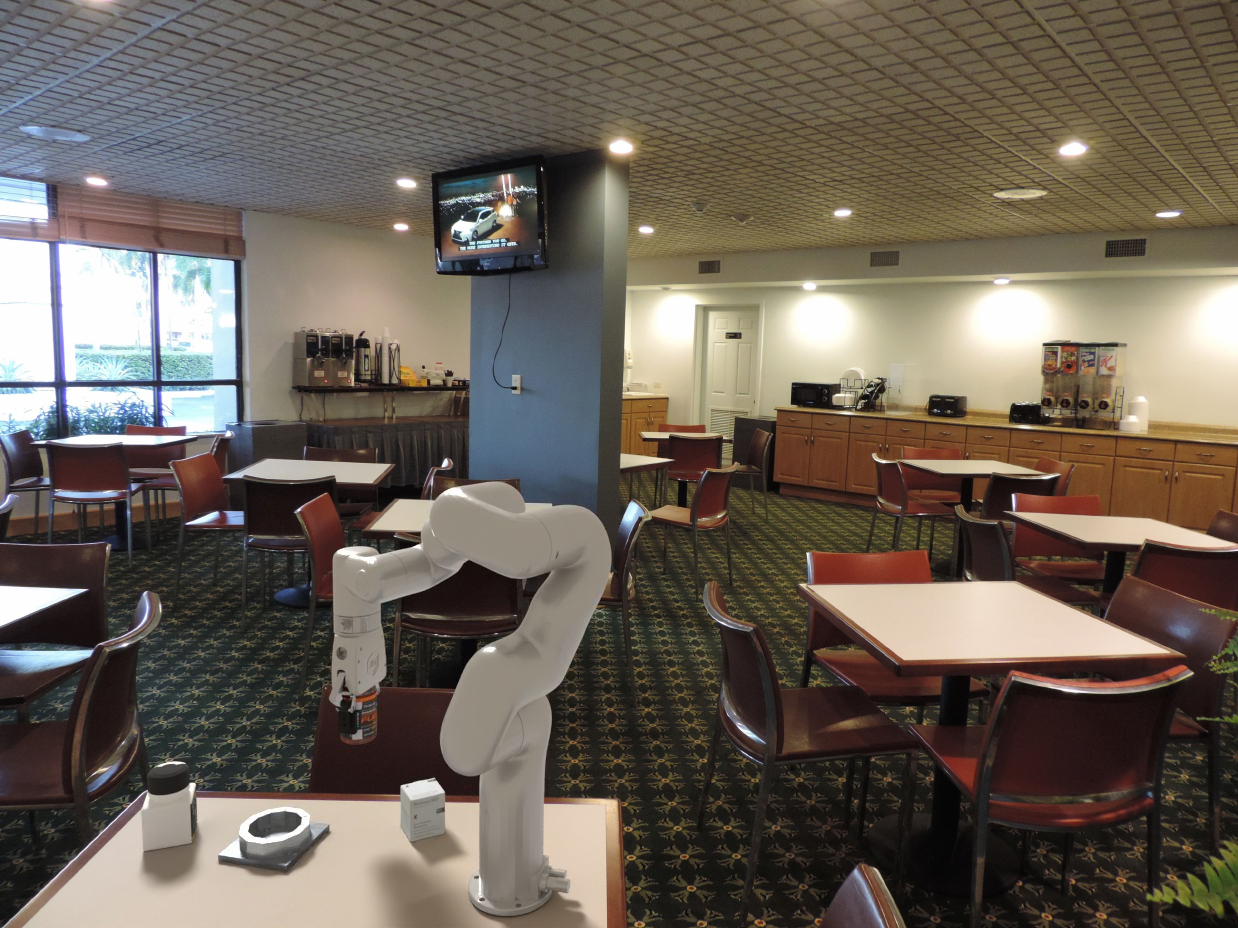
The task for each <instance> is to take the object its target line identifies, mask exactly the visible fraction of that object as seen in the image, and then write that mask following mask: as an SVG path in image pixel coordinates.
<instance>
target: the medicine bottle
mask: <svg viewBox="0 0 1238 928" xmlns="http://www.w3.org/2000/svg"><path fill="white" fill-rule="evenodd" d="M190 775H191V774H190V766H189V765H188V764H187V763H185V762H182V761H168V762H165V763H161V764H158V765H156V766H155V767H152V768H151V769H150V770H149V772H148V773H147V774H146V779H147V781H146V782H147V793H146V796H145V799H144V802H143V805H142V808H141V810H140V812H141V813H140V814H141V817H140V818H141V836H142V850H143V852H149V851H155V850H160V849H167V848H172V847H178V846H184V845H185V846H186V845H189V844H192V843H193V842H194V838H195V833H196V829H197V824H198V802H197V801H198V800H197V799H198V798H197V784H196V783H195V782H191V781H190V779H191V778H190Z"/></svg>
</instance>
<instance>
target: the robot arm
mask: <svg viewBox="0 0 1238 928" xmlns="http://www.w3.org/2000/svg"><path fill="white" fill-rule="evenodd" d="M605 528H606V527H605V526H604V524H603V522H602V521H601V520H600V518H599V517H598V516H597V515H596V514H595V513H593V512H592V511H591V510H590V509H588V508H587V507H584V506H581V505H580V506H579V505H576V504H574V505H573V504H562V505H561V504H560V505H554V506H553V505H552V506H549V507H544V508H539V509H535V510H530V511H526V503H525V499H524V497H523V495H522V494H521V492H520V491H519V490H518V489H516V488H515V487H514V486H512V485H510V484H508V483H506V482H501V481H487V482H486V481H485V482H480V483H473V484H467V485H466V484H465V485H460V486H454V487H451V488H449V489H446V490H445V491H443V492H442V493H441V494H439V495H438V496H437V497H436V498H435V500H434V502H433V503H432V505H431V508H430V511H429V518H428V519H427V520H426V521H425V522H424V523H423V526H422V528H421V532H420V541H421V543H419V544H416V545H415V546H412V547H407V548H402V549H399V550H398V549H397V550H394V551H390V552H389V551H388V552H385V553H379V551H378V550H377V549H376V548H374V547H370V546H362V545H361V546H360V545H359V546H357V545H356V546H347V547H343V548H340V549H338V550H337V551H336V552H334V554H333V557H332V595H333V596H332V597H333V598H332V599H333V600H332V601H333V604H332V605H333V611H332V612H333V633H334V639H333V646H332V653H331V654H332V656H331V688H332V689H331V691H330V694H329V696H328V700H329V701H330V703H332V705H333V706H334V707H335V711H337V722H338V724H337V725H338V727H337V728H338V733H340V734H341V733H345V734H352V735H355V734H356V733H357V710H354V709H355V704H356V699H357V696H359V695H361V694H363V693H364V692H366V691H367V690H369V689H370V688H372V687H373V686H374V685H375V686H376V688H377V718H378V717H379V694H380V692H381V687H380V684H381V682H382V680H384V679H385V677H386V675H387V655H386V643H385V641H386V640H385V635H384V630H383V626H382V621H381V620H382V615H381V614H382V613H381V611H382V609H381V606H382V605H381V604H383V603H386V602H390V601H393V600H396V599H399V598H403V597H406V596H410V595H413V594H417V593H421V592H423V591H426V590H429V589H431V588H432V587H435V586H436V585H438V584H440V583H441V582H443V581H445V580H447V579H449V578H450V577H452V576H453V575H455V574H456V573H458V572H459V570H460V569H461V568H462V567H463V565H464V563H466V562H467V561H470V562H471V561H472V562H473V563H475V564H478V565H480V566H482V567H484V568H487V569H488V570H490V571H492V572H495V573H496V574H499V575H502V576H504V577H507V578H510V579H519V580H521V579H524V580H525V579H529V578H533V577H537V576H540V575H544V574H546V573H549V572H550V573H549V575H548V577H547V578H546V579H545V580H544V582H543V583H542V584H541V585H540V587H539V588H538V589H537V591H536V593H535V594H534V595H533V597H532V598H531V599H532V600H531V602H530V605H529V606H528V608H527V609H528V610H527V612H526V614H525V616H524V618H523V620H522V622H521V623H520V625H519V626H518V628H517V629H516V630H514V632H513V633H512V632H511V633H510V634H508V635H506V636H505V637H502V638H501V639H498V640H495V641H492V642H490V643H488V644H486V645H485V646H483V647H481V648H480V649H478V650H477V651H476V652H475V653H474V654H473V655H472V657H471V658H470V659H469V660H468V662H467V663H466V665H465V666H464V669H463V671H462V673H461V675H460V678H459V681H458V683H457V685H456V688H455V690H454V692H453V696H452V698H451V700H450V702H449V704H448V707H447V710H446V711H445V715H444V717H443V721H442V724H441V727H440V733H439V734H440V735H439V740H440V741H439V742H440V743H439V744H440V749H441V750H440V751H441V753H442V757H443V759H444V761H445V763H446V764H447V765H448V767H449V768H450V769H451V770H453V771H454V772H455V773H456V774H459V775H461V776H465V777H477V776H479V794H478V795H479V796H478V797H479V801H478V802H479V804H478V805H479V811H478V814H479V817H478V818H479V821H478V822H479V824H478V825H479V826H478V827H479V828H478V830H479V833H478V835H479V836H478V837H479V841H478V847H479V848H478V849H479V850H478V851H479V852H478V870H476V872H475V873H474V874H473V875H472V876H471V878H470V880H469V883H468V897H469V900H470V901H471V903H472V904H473V905H474V906H475V907H476V908H477V909H478V910H480V911H482V912H484V913H486V914H489V915H493V916H499V917H500V916H501V917H515V916H521V915H525V914H529V913H531V912H533V911H535V910H536V911H537V910H538V909H539V908H540V907H542V906H543V905H545V903H546V902H548V901H549V899H550V898H551V896H552V894H553V892H554V891H555V892H556V893H562V894H569V893H570V887H571V879H570V878H567V873H568V872H567V869H562V868H553V866H552V865H550V855H546V854H544V833H545V832H544V830H545V829H544V828H545V827H544V826H545V825H544V824H545V823H544V822H545V821H544V818H545V776H546V775H545V772H546V758H547V751H548V746H549V740H550V736H551V730H552V720H553V719H552V716H553V715H552V708H551V704H550V702H549V699H548V697H547V695H549V694H550V693H551V692H553V691H554V690H555V689H557V688H558V686H560V684H561V683H562V682H563V681H564V679H565V676H566V675H567V672H568V670H569V668H570V665H571V663H572V661H573V659H574V656H575V654H576V652H577V650H578V648H579V647H580V643H581V642H582V640H583V637H584V635H585V632H586V629H587V627H588V625H589V623H590V620H591V619H592V618H593V617H592V616H593V615H594V613H595V611H596V608H597V607H598V604H599V603H600V600H601V598H602V596H603V594H604V592H605V589H606V587H607V585H608V581H609V578H610V574H611V568H612V548H611V544H610V538H609V536H608V532H607V530H606V529H605ZM345 688H348V690H349V691H345ZM345 695H347V696H350V701H349V702H348V701H347V700H345V699H344V697H345Z"/></svg>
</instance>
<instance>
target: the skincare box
mask: <svg viewBox="0 0 1238 928" xmlns="http://www.w3.org/2000/svg"><path fill="white" fill-rule="evenodd" d="M399 820H400V823H399V824H400V827H401V828H402V830H403V832H404V833H405V835H406V837H407V839H408V840H409V842H413V843H414V842H416V841H419V840H424V839H427V838H431V837H436V836H439V835H443V834H445V832H446V792H445V790H444V789H443V788H442V786H441V785H440V784H439V782H438V781H437V780H436V778H435V777H432V778H429V779H423V780H417V781H413V782H412V783H411V782H410V783H405V784H402V785H400V819H399Z"/></svg>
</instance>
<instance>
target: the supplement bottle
mask: <svg viewBox="0 0 1238 928" xmlns="http://www.w3.org/2000/svg"><path fill="white" fill-rule="evenodd" d="M345 691H349V690H348V688H345ZM377 695H378V694H377V688H376V686H375V685H374V686H373V687H372V688H370V689H369V690H367V691H366V692H364V693H363V694H361V695H359V696H357V699H356V704H355V709H354V710H357V733H356V734H355V735H352V734H345V733H340V740H341V741H342V742H343V743H346V744H348V745H355V746H357V745H363V744H367V743H369V742H371V741H373V740H375V739H376V737H377V735H378V717H377ZM344 699H345V700H347V701H348V702H349V701H350V696H347V695H345V697H344Z"/></svg>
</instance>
